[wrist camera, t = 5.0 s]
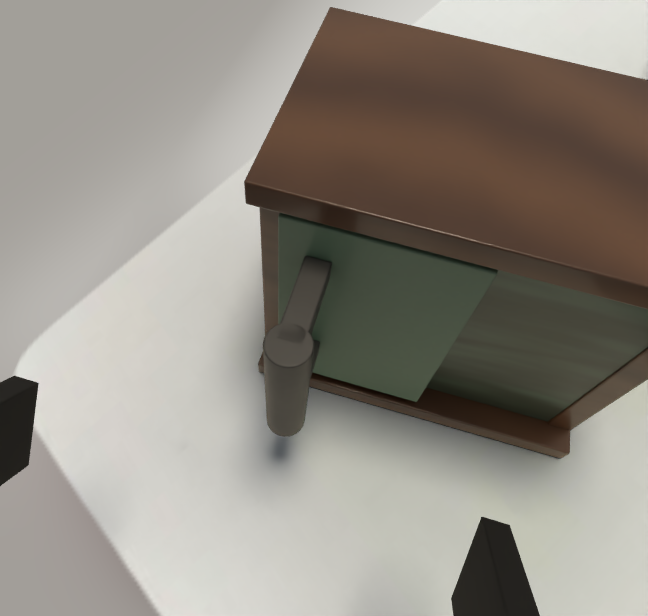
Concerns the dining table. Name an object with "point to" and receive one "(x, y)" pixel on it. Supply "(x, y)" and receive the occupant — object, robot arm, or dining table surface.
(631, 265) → the cupboard
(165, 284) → the dining table surface
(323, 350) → the sliding door
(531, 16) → the dining table surface
